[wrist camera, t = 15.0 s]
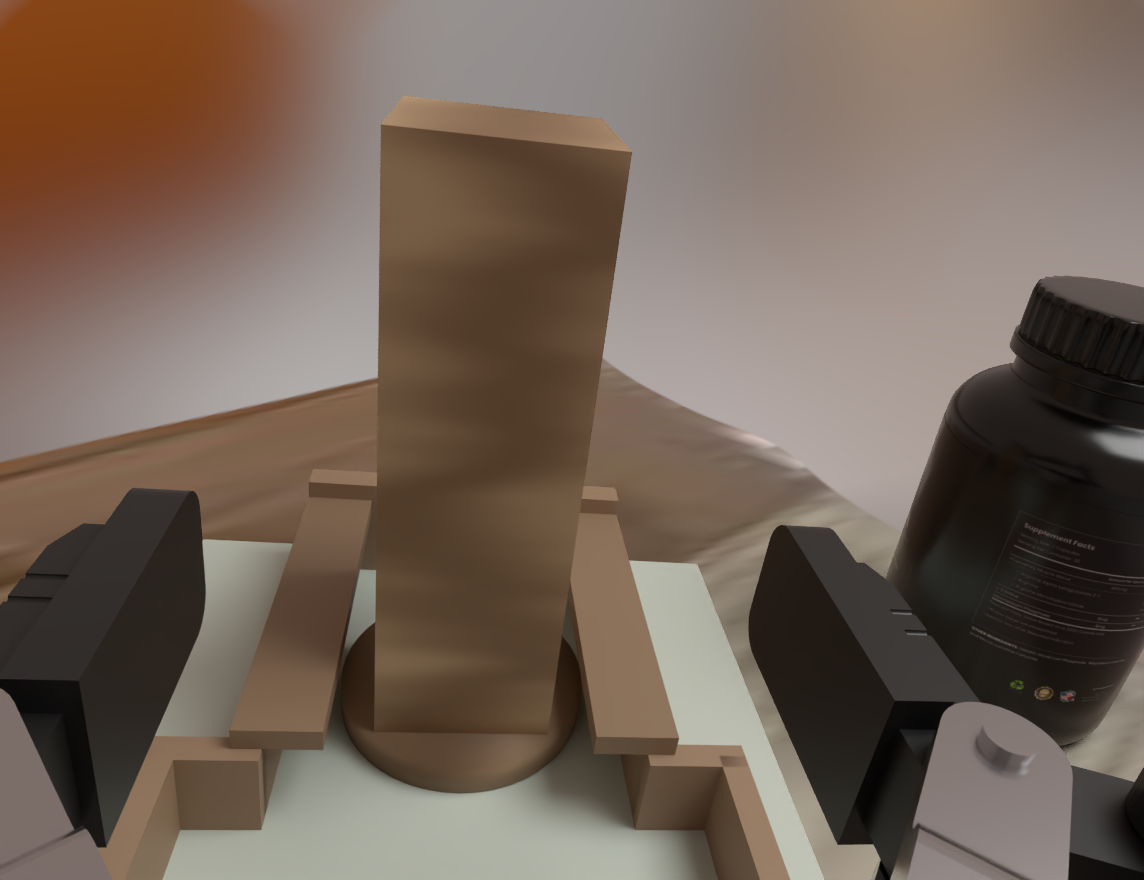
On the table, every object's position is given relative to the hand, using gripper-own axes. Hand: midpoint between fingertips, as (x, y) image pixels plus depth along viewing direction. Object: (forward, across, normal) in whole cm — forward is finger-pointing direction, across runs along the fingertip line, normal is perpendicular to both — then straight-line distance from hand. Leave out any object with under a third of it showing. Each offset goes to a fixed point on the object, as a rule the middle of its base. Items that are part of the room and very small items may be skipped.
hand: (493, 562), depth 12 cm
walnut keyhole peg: (+7, 0, +9) cm, 11 cm away
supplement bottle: (+9, -16, +10) cm, 21 cm away
